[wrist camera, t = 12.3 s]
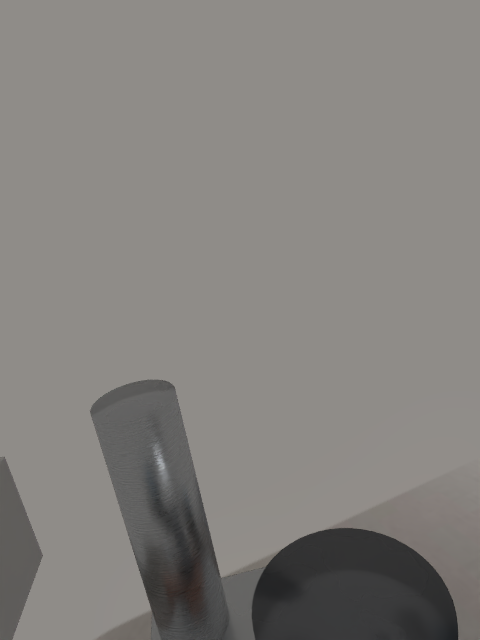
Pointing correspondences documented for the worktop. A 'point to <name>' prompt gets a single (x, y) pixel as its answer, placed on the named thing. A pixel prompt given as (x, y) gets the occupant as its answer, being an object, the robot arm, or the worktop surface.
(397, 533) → the worktop surface
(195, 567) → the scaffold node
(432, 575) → the pin
